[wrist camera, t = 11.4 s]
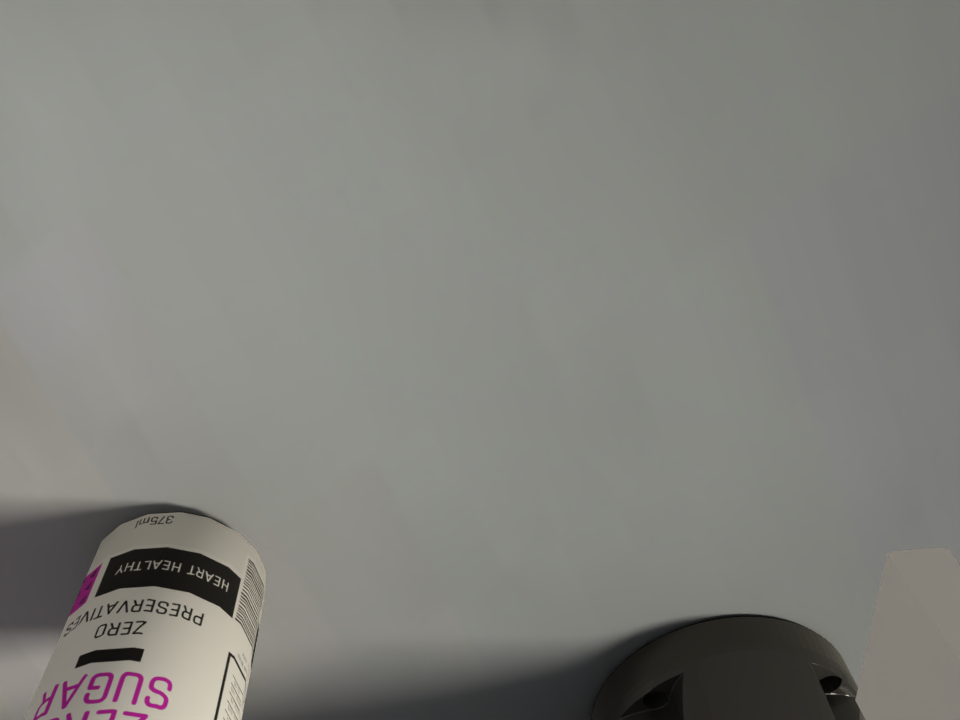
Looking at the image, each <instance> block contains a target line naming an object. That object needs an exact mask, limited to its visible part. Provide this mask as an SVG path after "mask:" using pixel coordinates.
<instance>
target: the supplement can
mask: <svg viewBox="0 0 960 720" xmlns="http://www.w3.org/2000/svg"><path fill="white" fill-rule="evenodd" d="M265 591H266V571H265V568H264V566H263V564H262V562H261V559H260V557H259V555H258V553H257V551H256V550H255V549H254V548H253V547H252V546H251V545H250V544H249V543H248V542H247V541H246V540H245V539H244V538H243V537H242V536H241V535H240V534H239V533H238V532H236V531H234V530H232V529H230V528H228V527H226V526H224V525H223V524H221V523H219V522H217V521H215V520H213V519H211V518H208V517H203V516H198V515H193V514H188V513H183V512H181V513H180V512H176V513H161V514H147V515H145V516H142V517H139V518H137V519H134V520H131V521H129V522H126V523H123V524H121V525H120V526H118V527H117V528H116V529H115V530H114V531H113V532H111V533H110V534H109V535H108V536H107V537H106V538H105V539H103V540H102V541H101V544H100V546H99V548H98V550H97V553H96V555H95V557H94V560H93V562H92V564H91V567H90V569H89V571H88V573H87V576H86V578H85V580H84V583H83V585H82V587H81V590H80V592H79V594H78V597H77V599H76V601H75V603H74V606H73V608H72V610H71V613H70V615H69V617H68V620H67V622H66V624H65V626H64V629H63V631H62V633H61V636H60V638H59V640H58V643H57V645H56V647H55V649H54V652H53V654H52V656H51V659H50V661H49V663H48V666H47V668H46V670H45V673H44V675H43V677H42V679H41V682H40V684H39V686H38V689H37V691H36V693H35V696H34V698H33V700H32V702H31V705H30V707H29V709H28V712H27V714H26V716H25V719H24V720H242V715H243V710H244V705H245V699H246V694H247V689H248V684H249V678H250V673H251V668H252V662H253V657H254V652H255V646H256V641H257V636H258V630H259V625H260V620H261V615H262V609H263V604H264V599H265Z"/></svg>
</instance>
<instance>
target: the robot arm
mask: <svg viewBox="0 0 960 720" xmlns="http://www.w3.org/2000/svg"><path fill="white" fill-rule="evenodd" d="M591 720H960V564H959V563H958V562H957V560H956V559H955V558H954V556H953V555H952V554H951V553H950V551H949V550H948V549H947V547H941V548H930V549H918V550H907V551H896V552H887V556H886V561H885V565H884V570H883V575H882V579H881V584H880V588H879V593H878V598H877V602H876V607H875V612H874V616H873V621H872V625H871V630H870V635H869V639H868V644H867V648H866V653H865V658H864V662H863V667H862V672H861V676H860V681H859V685H858V687H857V685H856V683H855V681H854V679H853V677H852V675H851V674H850V672H849V670H848V668H847V666H846V664H845V662H844V660H843V658H842V657H841V655H840V654H839V652H838V651H837V650H836V649H835V647H834V646H833V645H832V644H831V643H829V642H828V641H827V640H826V639H825V638H823V637H822V636H820V635H819V634H817V633H816V632H814V631H812V630H810V629H808V628H805V627H803V626H800V625H798V624H795V623H791V622H787V621H783V620H778V619H772V618H764V617H733V618H724V619H717V620H712V621H707V622H702V623H699V624H695V625H691V626H688V627H685V628H682V629H680V630H677V631H674V632H672V633H670V634H667V635H665V636H663V637H661V638H659V639H657V640H655V641H653V642H651V643H650V644H648V645H646V646H645V647H643V648H642V649H640V650H639V651H637V652H636V653H634V654H633V655H632V656H630V657H629V658H628V659H627V660H626V661H625V662H623V663H622V664H621V665H620V666H619V667H618V668H617V669H616V670H615V671H614V672H613V674H612V675H611V676H610V677H609V679H608V680H607V681H606V682H605V684H604V686H603V687H602V689H601V691H600V693H599V694H598V697H597V699H596V701H595V704H594V708H593V712H592V719H591Z"/></svg>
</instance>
